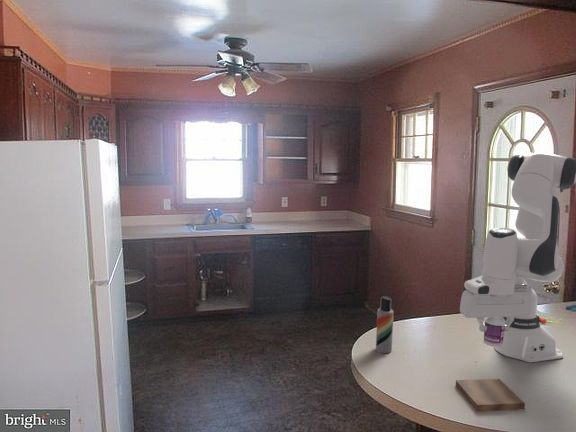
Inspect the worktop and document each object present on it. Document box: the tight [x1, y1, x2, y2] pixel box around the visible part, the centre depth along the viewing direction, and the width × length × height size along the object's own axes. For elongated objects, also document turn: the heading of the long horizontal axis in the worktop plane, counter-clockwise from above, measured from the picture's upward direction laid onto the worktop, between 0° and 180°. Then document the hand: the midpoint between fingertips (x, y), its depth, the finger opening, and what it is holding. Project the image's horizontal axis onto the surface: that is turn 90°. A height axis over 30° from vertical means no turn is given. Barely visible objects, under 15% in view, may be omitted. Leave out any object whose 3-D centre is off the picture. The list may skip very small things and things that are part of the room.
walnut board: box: [455, 378, 526, 413], centre depth 142 cm, size 14×14×2 cm
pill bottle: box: [483, 314, 505, 348], centre depth 139 cm, size 5×5×10 cm
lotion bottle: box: [375, 296, 395, 354], centre depth 172 cm, size 6×6×20 cm
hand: (494, 330), depth 139 cm, fingers closed on pill bottle, 5 cm apart
